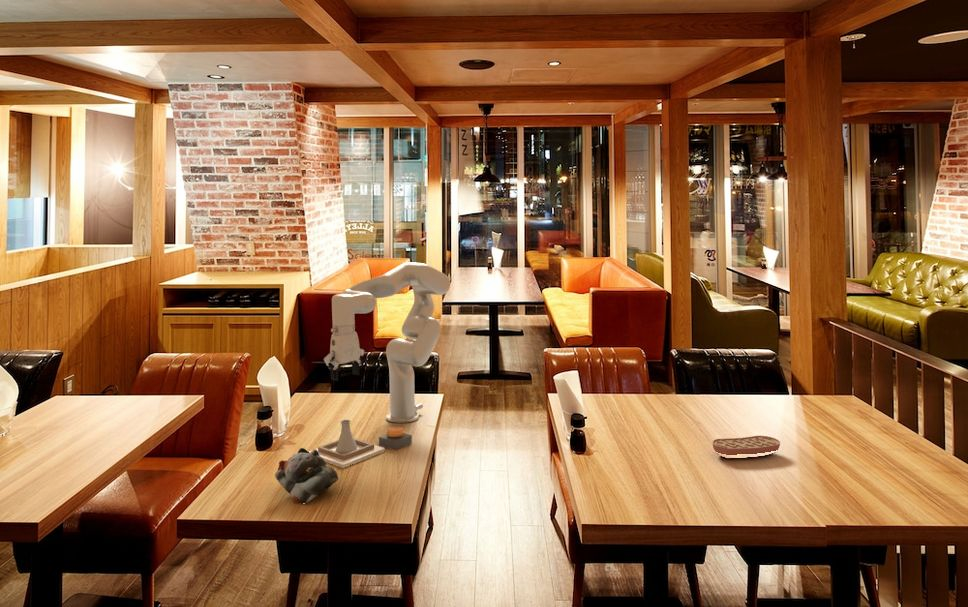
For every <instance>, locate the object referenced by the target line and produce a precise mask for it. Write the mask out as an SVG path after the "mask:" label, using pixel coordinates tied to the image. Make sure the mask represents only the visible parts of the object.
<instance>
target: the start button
mask: <svg viewBox="0 0 968 607" xmlns="http://www.w3.org/2000/svg"><path fill="white" fill-rule="evenodd" d="M385 432H386V433H385V434H386V435H387V436H389V437H394V438H396V437H400V436H402V435H404V433H405V428H403V427H400V426H390V427H388V428H386V431H385Z"/></svg>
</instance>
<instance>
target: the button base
mask: <svg viewBox="0 0 968 607" xmlns="http://www.w3.org/2000/svg"><path fill="white" fill-rule="evenodd" d="M412 438H413V436H412V434H410V433H409V434H408V433H405V432H404V435H402V436H400V437H396V438H394V437H389V436H387V435H386V433H385V434H382V435H380V436H378V446H380V445H381V446H380V447H383V446H384V447H383V448H387V449H390V448H391V449H390V450H393V449H394V450H393V451H397V450H399V448H400V449H402V448H404V447H406V446H409V445H412V442H413V439H412Z"/></svg>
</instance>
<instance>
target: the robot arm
mask: <svg viewBox="0 0 968 607" xmlns="http://www.w3.org/2000/svg"><path fill="white" fill-rule="evenodd" d="M409 286H411V288H412V290H413V298H414V301H413V304H412V307H411V309H410V311H409V312H408V315H406V318H405V320H404V321H403V324H402V326H401V333H402V335H403V336H404V337H405V338H401V337H400V338H394V339H391V340H390V341H389V342H388V343H387V345H386V348H385V352H386V353H385V355H386V358H387V359H386V360H387V364H388V369H389V370H388V371H389V372H388V373H389V374H388V376H389V403H390V406H389V411H390V412H389V413H388V414H386V417H385V418H386V420H387V421H388V422H390V423H395V424H404V423H412V422H414V421H417V420H419V418H420V416H419V415H420V414H419V413H418V410H420V409H423V407H424V406H423V404H422V403H417V404H415V402H416V401H415V400H416V399H415V370H414V368H413V367H421V366H423V365H425V364H427V362H428V360H429V358H430V357H431V354H432V352H433V350H434V349H435V346H436V345H437V343H438V340H439V338H440V335H441V323H440V321H438V320H437V319H436V318H433V317H432V316H433V313H434V311H435V303H434V300H433V297H432V296H433V295H435V296H436V295H437V296H443V295H446V294H447V293H448V292H449V291H450V288H451V281H450V278H449V277H448V276H447V274H446V273H444V272H442V271H440V270H438V269H437V268H434V267H433V266H430V265H429V264H426V263H422V262H411V261H409V262H404V263H401V264H399V265H397V266H395V267H394V268H392V269H390V270H389V271H387V272H385V273H384V274H382V275H378V276H375V277H373V278H370V279H367V280H363V281H359V282H358V283H356V284H353V285H351V286H350V287H348V288H346V289H345V290H344V291H342V292H341V293H338V294H334V295H333V296H332V298H331V312H332V313H331V316H332V319H331V320H332V328H330V332H331V333H332V334H331V337H330V346H329V347H330V348H329V353H328V354H327V355H326V356H325V357H324V358H323V361H324V363H325V365H326V367H328V369H329V370H330V371H329V372H330V380H331V381H335V382H338V381H339V369H337V368H338V366H339V365H340V364H341V365H343V364H347V363H351V362H352V363H351V369H352V370H351V372H352V373H351V374H352V375H355V376H360V374H361V373H360V364H361V363H362V362H361V361H362V360H363V359H364V354H365V350H364V349H363V348H360V341H359V340H360V339H359V336H358V333H357V331H356V330H355V329H356V325H355V324H356V322H355V321H356V320H355V314H368V313H371V312H372V311H374V309H375V308H376V305H377V299H383V298H389V297H392V296H394V295H396V294H397V293H399V292H400V291H402V290H404V289H405V288H408V287H409ZM406 338H407V339H406Z"/></svg>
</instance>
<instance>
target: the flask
mask: <svg viewBox="0 0 968 607" xmlns="http://www.w3.org/2000/svg"><path fill="white" fill-rule="evenodd" d="M340 424H341V430H340V435H339V438H338V440H339V441H338V444H337V448H336V452H340V453H349V452H352V451H354V450H357V445H356V442H355V440H354V436H353V433H352V429H351V425H350V424H351V420H350V419H342V420H341V421H340Z"/></svg>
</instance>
